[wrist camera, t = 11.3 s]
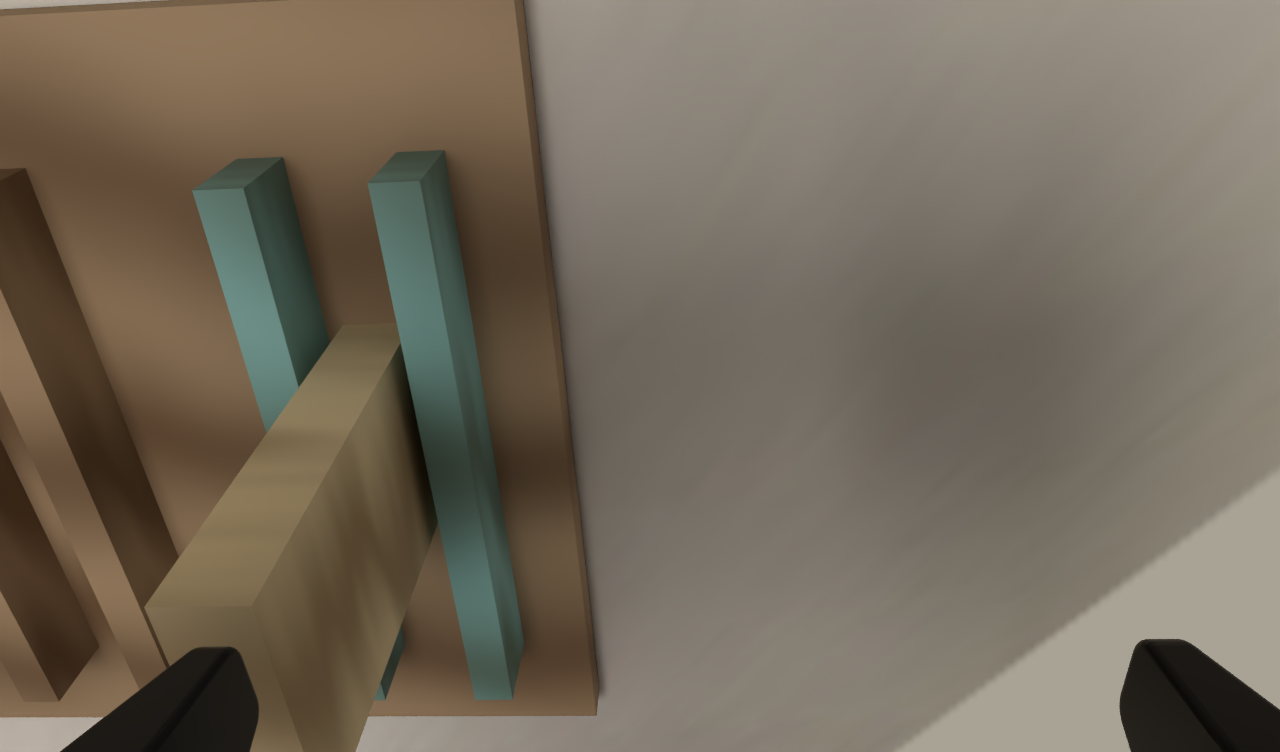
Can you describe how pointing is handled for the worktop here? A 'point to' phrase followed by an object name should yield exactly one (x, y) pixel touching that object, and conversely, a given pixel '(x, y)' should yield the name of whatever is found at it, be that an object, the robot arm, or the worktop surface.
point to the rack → (277, 324)
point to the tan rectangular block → (313, 549)
